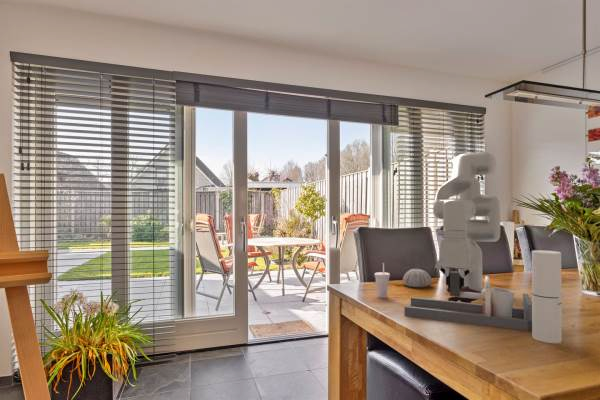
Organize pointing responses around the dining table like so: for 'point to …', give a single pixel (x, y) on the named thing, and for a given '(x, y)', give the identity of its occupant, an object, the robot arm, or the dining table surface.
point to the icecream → (466, 300)
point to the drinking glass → (502, 302)
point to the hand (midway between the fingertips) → (455, 287)
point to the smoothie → (382, 283)
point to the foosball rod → (457, 293)
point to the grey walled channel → (472, 312)
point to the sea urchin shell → (417, 278)
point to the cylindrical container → (546, 296)
